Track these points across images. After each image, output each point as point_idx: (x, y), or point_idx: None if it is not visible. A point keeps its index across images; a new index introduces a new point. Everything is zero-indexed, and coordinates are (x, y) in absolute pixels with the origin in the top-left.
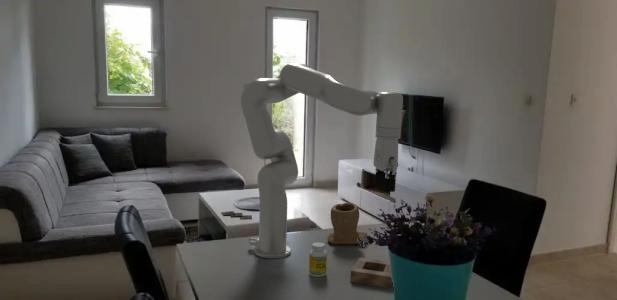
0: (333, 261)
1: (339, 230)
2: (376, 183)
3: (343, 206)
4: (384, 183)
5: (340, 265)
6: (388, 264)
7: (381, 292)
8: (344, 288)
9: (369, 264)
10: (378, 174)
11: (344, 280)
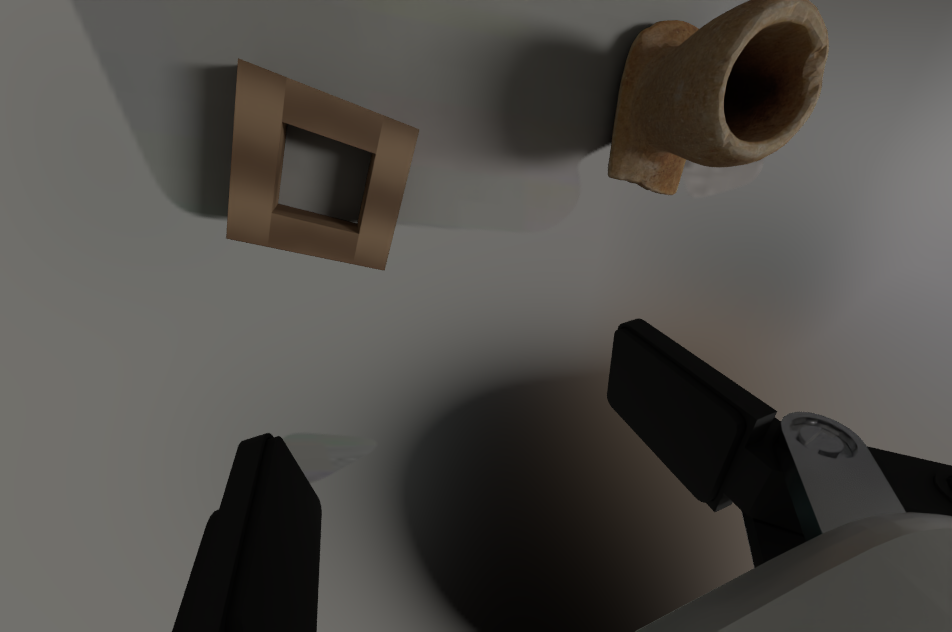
0: (467, 16)
1: (664, 64)
2: (619, 335)
3: (798, 83)
4: (610, 403)
5: (426, 45)
6: (360, 241)
7: (179, 190)
8: (155, 18)
9: (372, 167)
10: (704, 423)
11: (257, 36)
